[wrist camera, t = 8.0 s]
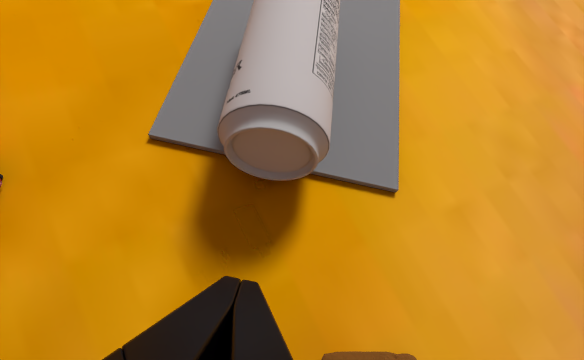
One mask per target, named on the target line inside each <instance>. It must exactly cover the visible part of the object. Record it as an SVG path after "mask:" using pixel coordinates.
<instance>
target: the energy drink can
mask: <svg viewBox="0 0 584 360" xmlns="http://www.w3.org/2000/svg"><path fill="white" fill-rule="evenodd" d="M339 12H340V0H254V2H253V5H252V9H251V12H250V16H249V19H248V23H247V26H246V30H245V33H244V37H243V40H242V44H241V47H240V51H239V54H238V58H237V61H236V65H235V68H234V71H233V75H232V78H231V82H230V85H229V89H228V92H227V96H226V99H225V103H224V106H223V110H222V113H221V117H220V120H219V124H218V128H217V131H218V137H219V139H220V142H221V143H222V145H223V146H224V152H225V155H226V157H227V158H228V160H229V161H230V162H231V163H232V164H233V165H234V166H235V167H237V168H238V169H240V170H242V171H244V172H246V173H247V174H250V175H253V176H255V177H259V178H263V179H268V180H277V181H287V180H295V179H299V178H302V177H304V176H307V175H308V174H310V173H311V172H313V171H314V169H315V168H316V167H317V164H318V163H319V162H321V161H322V160H323V159H324V158H325V157H326V155H327V154H328V151H329V149H330V136H331V122H332V108H333V95H334V81H335V67H336V53H337V39H338V25H339Z"/></svg>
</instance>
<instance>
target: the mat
mask: <svg viewBox="0 0 584 360" xmlns="http://www.w3.org/2000/svg"><path fill="white" fill-rule="evenodd" d="M253 2H254V0H213V2H212V4H211V6H210V8H209V10H208V12H207V14H206V16H205V18H204V20H203V22H202V24H201V27H200V29H199V31H198V33H197V35H196V37H195V39H194V41H193V43H192V45H191V47H190V49H189V51H188V53H187V55H186V58H185V60H184V62H183V64H182V66H181V68H180V70H179V72H178V74H177V76H176V78H175V80H174V82H173V84H172V87H171V89H170V91H169V93H168V95H167V97H166V99H165V101H164V103H163V105H162V107H161V109H160V111H159V113H158V115H157V118H156V120H155V122H154V124H153V126H152V128H151V130H150V132H149V134H148V135H149V137H150V138H152V139H156V140H161V141H165V142H170V143H174V144H179V145H183V146H188V147H192V148H197V149H201V150H206V151H210V152H215V153H219V154H224V155H225V152H224V146H223V145H222V143H221V142H220V139H219V137H218V131H217V128H218V124H219V120H220V117H221V113H222V110H223V106H224V103H225V99H226V96H227V92H228V89H229V85H230V82H231V78H232V75H233V71H234V68H235V65H236V61H237V58H238V54H239V51H240V47H241V44H242V40H243V37H244V33H245V30H246V26H247V23H248V19H249V16H250V12H251V9H252V5H253ZM399 22H400V0H340V12H339V25H338V39H337V53H336V67H335V81H334V95H333V108H332V122H331V136H330V149H329V151H328V154H327V155H326V157H325V158H324V159H323V160H322V161H321V162H319V163H318V164H317V167H316V168H315V169H314V171H313V172H311V173H310V174H314V175H319V176H324V177H328V178H333V179H337V180H342V181H346V182H351V183H355V184H360V185H364V186H369V187H373V188H378V189H382V190H387V191H391V192H397V191H398V165H399Z"/></svg>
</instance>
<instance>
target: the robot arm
mask: <svg viewBox="0 0 584 360" xmlns="http://www.w3.org/2000/svg"><path fill="white" fill-rule="evenodd" d="M102 360H293V358H292V356H291V354H290V352H289V349H288V347H287V345H286V343H285V341H284V339H283V336H282V334H281V332H280V330H279V328H278V325H277V323H276V321H275V319H274V317H273V315H272V312H271V310H270V308H269V306H268V304H267V302H266V299H265V297H264V295H263V293H262V291H261V289H260V286H259V284H258V283H257V282H254V281H249V280H242V281H241V280H240V279H238V278H234V277H229V276H224V277H223V278H221V279H220V280H218V281H217V282H215V283H214V284H212V285H211V286H209V287H208V288H207V289H205V290H204V291H202V292H201V293H199V294H198V295H196V296H195V297H193V298H192V299H190V300H189V301H187V302H186V303H185V304H183V305H182V306H180V307H179V308H177V309H176V310H174V311H173V312H171V313H170V314H168V315H167V316H166V317H164V318H163V319H161V320H160V321H158V322H157V323H155V324H154V325H152V326H151V327H149V328H148V329H147V330H145V331H144V332H142V333H141V334H139V335H138V336H136V337H135V338H133V339H132V340H130V341H129V342H127V343H126V344H125V345H123V346H122V349H121V348H118V349H117V350H115V351H114V352H113V353H111V354H110V355H108V356H107V357H105V358H104V359H102Z"/></svg>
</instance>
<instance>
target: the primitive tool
mask: <svg viewBox="0 0 584 360" xmlns="http://www.w3.org/2000/svg"><path fill="white" fill-rule="evenodd" d="M322 360H417V359H416V358H415V357H414V356H412V355H410V354H394V353H390V352H334V353H329V354H324V356H323V358H322Z"/></svg>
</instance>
